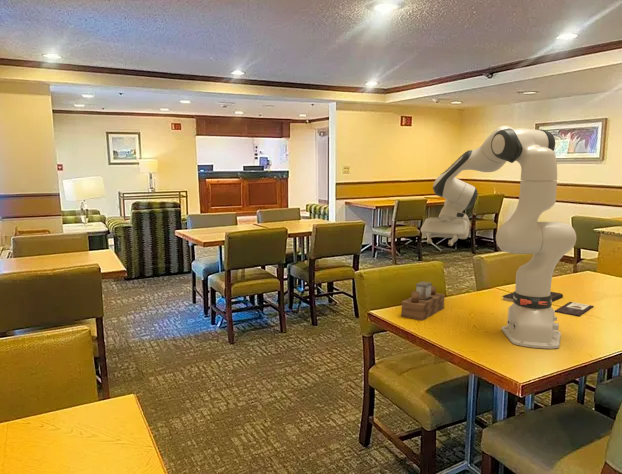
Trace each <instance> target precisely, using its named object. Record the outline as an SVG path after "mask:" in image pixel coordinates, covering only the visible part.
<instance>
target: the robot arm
mask: <svg viewBox="0 0 622 474" xmlns="http://www.w3.org/2000/svg"><path fill="white" fill-rule="evenodd" d="M555 147H556V138H555V136H554V134H553V133H552V132H550V131H548V130H545V129H541V128H540V129H534V128H526V127H517V128H515V127H512V126H510V125H501V126H498V127H497V128H496V129H495V130H493V131H492V132H491V133H490V135H489V136H488V137H486V139H485V140H484V141H483V143H482V144H481V145H480V146H479V147H477V148H475V149H471V150H467V151H464V152H463V154H462V155H460V156H459V157H458V158H457V159H456V160H455V161H454V162H453V163H451V165H450V166H449V167H447V169H446V170H445V171H443V172H442V173H440V175H438V176H437V178H436V179H435V180H434V182H433V185H432V189H433V190H432V191H433V192H434V194H435V195H436V196H438V197H440V198H443V199H445V200H444V202H443V203H444V204H443V207H441V210H440V213H439V215H438V217H436V216H435V217H432V216H430V217H428V218H425V220H424V222H423V224H422V226H421V227H420V232H421V234H422V236H424V237H426V238H427V239H426V243H427V244H432V242H433V240H432V238H433V237H434V238H435V237H436V238H437V237H438V238H447V239H448V242H447V245H448V246H450V247H452V246H454V244H455V243H456V242H457V241H458V239H460V240H467V238H468V237H469V234H470V229H471V228H470V226H471V221H470V218H469V217H468V215H467V213H464V212H463V211H467V210H468V209H471V208H472V207H474V205H475V203H476V200H477V197H478V195H479V193H478V189H477V187H475V186H474V185H472V184H470V183H467V182H465V181H463V180H461V179H459V178H457V176H458V175H459V174H460V173H461V172H463V171H476V172H481V173H493V172H497V171H499V170H500V169H502V167H503V166H504V165H505V164H506V163H507V162H508V163H510V164H513V163H515V162H517V163H518V164H519V165H520V170H521V171H520V183H519V185H520V186H519V196H518V202H517V206H516V208H515V210H514V213H513V214H512V216H511V217H510V218H509V219H508V220H507V221H506V222H504V223H503V224H501V225H500V226H499V227H498V229H497V232H496V234H495V242H496V245H497V246H498V248H499V249H500V250H501V251H502V252H503V253H509V254H512V255H513V254H515V255H532V257H531V258H530V260H529V261H527V262H526V263H524V264H522V265H521V266H519V267H518V268H517V270H516V273H515V288H514V291H513V292H514V295H513V301H514V302H512V304H511V305H510V306H508V311H507V324H506V325H503V326H501V331H502V332H503V334H504V335H505V336H506V338H507V339H508V340H509V341H510V342H511V344H512V345H517V346H521V347H525V348H534V349H546V350H547V349H551V350H553V349H559V348H560V343H561V336H562V333H561V332H562V331H560V330H559V326H560V325H559V322H556V321H558V317H557V316H556V312H555V310H556V309H554V308H552V303H553V302H552V295H551V294H550V292H552V291H551V290H552V289H551V288H552V281H553V275H554V270H555V268H556V266H557V264H558V263H559V262H560V260H561V259H562V258H563V257H564V256H565V254H567V253H569V252H570V251H571V250H572V249H573V248H574V247H575V245H576V243H577V232H576V231H575V229H574V227H573V226H572V225H571V224H569V223H564V222H559V221H539V218H540V217H541V215H542V214H543V213H544V212H546V211H548V210H550V209H552V208H553V206H554V205H555V203H556V202H557V187H558V164H557V157H556V152H554V151H555Z"/></svg>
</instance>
